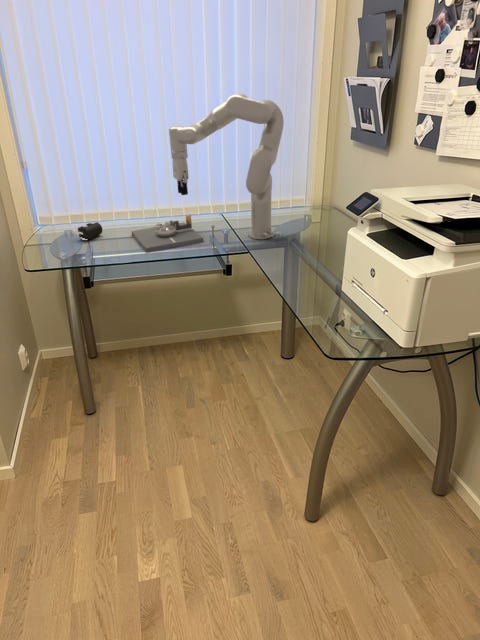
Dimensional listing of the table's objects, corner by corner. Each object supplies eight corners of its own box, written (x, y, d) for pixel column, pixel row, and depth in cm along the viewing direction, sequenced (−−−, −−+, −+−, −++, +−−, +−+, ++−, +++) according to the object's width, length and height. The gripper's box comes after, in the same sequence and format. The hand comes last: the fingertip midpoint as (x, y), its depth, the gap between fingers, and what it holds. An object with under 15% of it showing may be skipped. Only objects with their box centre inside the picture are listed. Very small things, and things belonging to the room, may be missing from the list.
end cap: (90, 242, 229) (87, 228, 226) (79, 240, 232) (76, 227, 229) (103, 235, 237) (101, 222, 234) (93, 234, 240) (90, 221, 237)
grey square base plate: (203, 241, 224) (203, 237, 223) (146, 252, 214) (145, 247, 213) (184, 225, 246) (184, 221, 245) (131, 234, 236) (131, 230, 235)
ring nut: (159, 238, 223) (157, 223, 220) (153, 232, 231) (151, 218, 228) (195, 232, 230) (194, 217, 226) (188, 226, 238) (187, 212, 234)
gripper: (166, 152, 225) (170, 191, 234) (177, 158, 212) (181, 198, 221) (181, 151, 228) (184, 189, 237) (192, 156, 215) (196, 196, 224)
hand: (183, 193), depth 229 cm, fingers open, 3 cm apart
